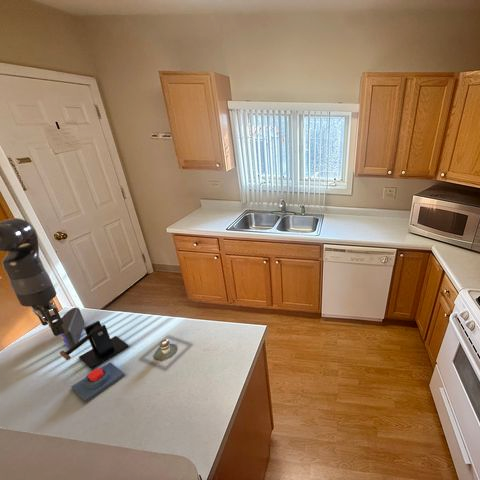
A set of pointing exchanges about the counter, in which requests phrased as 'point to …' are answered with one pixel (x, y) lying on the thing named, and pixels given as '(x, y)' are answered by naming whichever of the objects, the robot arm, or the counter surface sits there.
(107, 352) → the bracket
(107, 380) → the button box
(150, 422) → the counter surface
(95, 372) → the button
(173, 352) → the brass knob on disc
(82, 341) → the lever
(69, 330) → the leaning round-cornered charcoal block
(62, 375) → the counter surface
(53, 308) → the robot arm
